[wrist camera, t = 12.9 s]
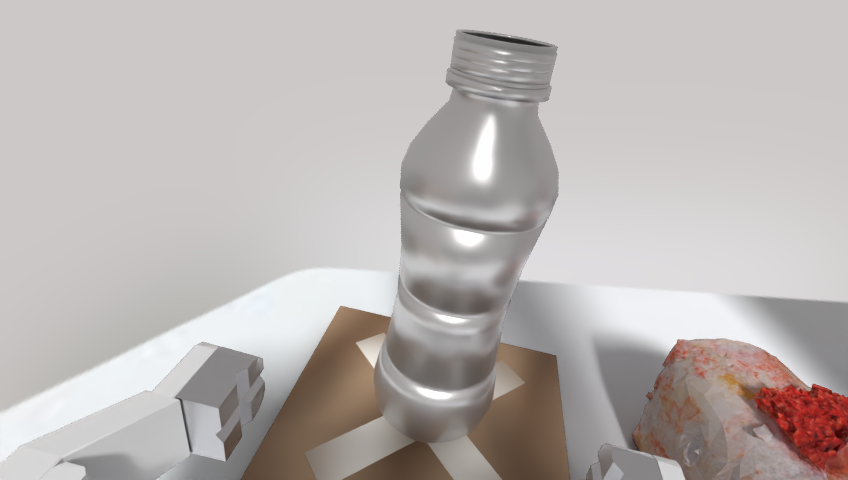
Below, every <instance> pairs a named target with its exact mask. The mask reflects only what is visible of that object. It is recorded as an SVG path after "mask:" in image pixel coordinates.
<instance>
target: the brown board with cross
mask: <svg viewBox="0 0 848 480" xmlns="http://www.w3.org/2000/svg"><path fill="white" fill-rule="evenodd" d="M390 321H391V317H387V316H382V315H378V314H374V313H369V312H365V311H361V310H356V309H352V308H348V307H343V306H340V308H339V309H338V311H337V313H336V315H335V316H334V318H333V320H332V322H331V323H330V325H329V327H328V328H327V330H326V332H325V334H324V335H323V337H322V339H321V341H320V342H319V344H318V346H317V348H316V349H315V351H314V353H313V355H312V356H311V358H310V360H309V362H308V363H307V365H306V367H305V368H304V370H303V372H302V374H301V375H300V377H299V379H298V381H297V382H296V384H295V386H294V388H293V389H292V391H291V393H290V395H289V396H288V398H287V400H286V402H285V403H284V405H283V407H282V408H281V410H280V412H279V414H278V415H277V417H276V419H275V421H274V422H273V424H272V426H271V428H270V429H269V431H268V433H267V435H266V436H265V438H264V440H263V441H262V443H261V445H260V447H259V448H258V450H257V452H256V454H255V455H254V457H253V459H252V461H251V462H250V464H249V466H248V468H247V469H246V471H245V473H244V475H243V476H242V478H241V480H570V476H569V467H568V458H567V449H566V440H565V431H564V422H563V413H562V404H561V396H560V387H559V378H558V369H557V360H556V355H551V354H547V353H543V352H538V351H534V350H530V349H525V348H521V347H517V346H512V345H508V344H504V343H499V348H498V353H497V358H496V381H495V388H494V395H493V400H492V402H491V405H490V407H489V409H488V410H487V412H486V413H485V415H484V417H483V418H482V420H481V421H480V423H479V424H478V425H477V427H476V428H475V429H474V430H473V431H471V432H470V433H469V434H467V435H465V436H463V437H461V438H459V439H456V440H452V441H449V442H444V443H424V442H420V441H416V440H413V439H411V438H409V437H407V436H405V435H403V434H402V433H400V432H399V431H398V430H396V429H395V428H394V427H393V426H392V425H391V424H390V423H389V422H388V421H387V420H386V419H385V418H384V416H383V415H382V413H381V412H380V410H379V408H378V405H377V402H376V396H375V387H374V378H373V375H374V368H375V364H376V361H377V358H378V355H379V351H380V349H381V347H382V344H383V342H384V340H385V338H386V335H387V333H388V329H389V325H390Z"/></svg>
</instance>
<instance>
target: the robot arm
mask: <svg viewBox="0 0 848 480" xmlns="http://www.w3.org/2000/svg"><path fill="white" fill-rule="evenodd" d="M263 369H264V367H263V359H262V358H260V357H257V356H253V355H249V354H246V353H242V352H239V351H235V350H232V349H228V348H225V347H220V346H217V345H213V344H209V343H205V342H201V343H199V344H197V345H196V346H194V347H193V348H192V350H191V351H190V352H189V353H188V354H187V355H186V356H185V357H184V358H183V359H182V360H181V361H180V362H179V363H178V364H177V365H176V367H175V368H174V369H173V370H172V371H171V372H170V373H169V374H168V375H167V376H166V377H165V378H164V379H163V380H162V381H161V382H160V383H159V385H158V386H157V387H156V388H155V389H154V390H153V391H152V392H150V391H143V392H141V393H139V394H137V395H134V396H132V397H130V398H128V399H125V400H123V401H121V402H119V403H116V404H114V405H112V406H109V407H107V408H105V409H103V410H100V411H98V412H96V413H94V414H91V415H89V416H87V417H85V418H82V419H80V420H78V421H76V422H73V423H71V424H69V425H66V426H64V427H62V428H60V429H57V430H55V431H53V432H51V433H48V434H46V435H44V436H42V437H39V438H37V439H35V440H33V441H30V442H28V443H26V444H23V445H21V446H20V447H18V448H17V449H16V450H15V451H14V452H13V453H12V454H11V455H9V456H8V457H7V458H6V459H5V460H4V461H3V462H2V463H0V480H155V479H157V478H158V477H160V476H161V475H163V474H164V473H166V472H167V471H169V470H170V469H171V468H173V467H174V466H176V465H177V464H179V463H180V462H182V461H183V460H185V459H186V458H188V457H189V456H190V455H191V454H190V453H192V454H196V455H200V456H204V457H209V458H213V459H217V460H221V461H225V462H226V461H227V459H228V458H229V456H230V454H231V453H232V451H233V450H234V448H235V447H236V445H237V444H238V442H239V440H240V439H241V437H242V432H241V426H243V425H245V424H247V423H249V422H250V421H252V420H253V418H254V417H255V415H256V413H257V412H258V410H259V407H260V405H261V402H262V400H263V396H264V390H265V383H264V380H263V379H262V378H261V377H260V373H261V372H262V370H263ZM598 457H599V462H598V463H595V464H593V465H591V467H590V469H589V471H588V473H587V476H586V480H685V477H684V475H683V472H682V469H681V466H680V465H679V464H678V462H677V461H675V460H671V459H667V458H663V457H659V456H655V455H650V454H648V453H644V452H640V451H636V450H631V449H627V448H623V447H619V446H615V445H610V444H604V445H603V446H602V447H601V448H600V450H599V452H598Z"/></svg>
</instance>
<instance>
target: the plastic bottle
mask: <svg viewBox="0 0 848 480" xmlns="http://www.w3.org/2000/svg"><path fill="white" fill-rule="evenodd" d="M557 48H558V47H557V46H555V45H552V44H549V43H545V42H541V41H536V40H531V39H527V38H522V37H516V36H510V35H504V34H497V33H491V32H483V31H475V30H457V31H456V36H455V37H454V44H453V52H452V59H451V66H450V68H448V69H447V75H446V83H447V84H448V85H450V86H452V87H453V90H452V93H451V97H450V99H449V101H448V102H447V103H446V104H445V105H444V106H443V107H442V108H441V109H440V110H439V111H438V112H437V113H436V114H435V115H434V116H433V117H432V118H431V119H430V120H429V121H428V122H427V124H426V125H425V126H424V127H423V128H422V130H421V131H420V132H419V134H418V135H417V136H416V137H415V139H414V140H413V141H412V142H411V144H410V146H409V148H408V150H407V153H406V155H405V157H404V159H403V162H402V166H401V181H400V188H401V194H400V196H401V197H400V199H401V239H402V240H401V241H402V247H401V258H400V270H399V273H400V275H399V282H398V293H397V297H396V301H395V305H394V309H393V313H392V317H391V321H390V325H389V329H388V333H387V335H386V338H385V340H384V342H383V344H382V347H381V349H380V351H379V355H378V358H377V361H376V364H375V368H374V375H373V378H374V387H375V396H376V402H377V405H378V408H379V410H380V412H381V413H382V415H383V416H384V418H385V419H386V420H387V421H388V422H389V423H390V424H391V425H392V426H393V427H394V428H395V429H396V430H398V431H399V432H400V433H402V434H403V435H405V436H407V437H409V438H411V439H413V440H416V441H420V442H424V443H444V442H449V441H452V440H456V439H459V438H461V437H463V436H465V435H467V434H469V433H470V432H471V431H473V430H474V429H475V428H476V427H477V425H478V424H479V423H480V421H481V420H482V418H483V417H484V415H485V413H486V412H487V410H488V409H489V407H490V405H491V402H492V400H493V395H494V388H495V381H496V358H497V353H498V348H499V343H500V338H501V333H502V328H503V323H504V318H505V314H506V312H507V309H508V307H509V304H510V301H511V298H512V295H513V293H514V291H515V288H516V285H517V283H518V280H519V277H520V275H521V272H522V269H523V267H524V265H525V263H526V261H527V259H528V257H529V255H530V253H531V251H532V249H533V247H534V245H535V243H536V241H537V239H538V237H539V236H540V233H541V231H542V229H543V228H544V226H545V223H546V221H547V219H548V218H549V216H550V214H551V211H552V209H553V206H554V204H555V201H556V199H557V197H558V168H557V164H556V161H555V158H554V155H553V152H552V149H551V145H550V143H549V140H548V138H547V136H546V133H545V131H544V129H543V127H542V124H541V122H540V120H539V117H538V105H539V102H545V101H547V100H549V96H550V92H551V86H550V85H549V84H550V80H551V76H552V72H553V68H554V65H555V60H556V56H557V53H556V51H557Z"/></svg>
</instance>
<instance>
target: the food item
mask: <svg viewBox="0 0 848 480" xmlns="http://www.w3.org/2000/svg"><path fill="white" fill-rule="evenodd" d="M663 366H664V367H665V368H664V369H663V371H662V372H661V373H660V374H659V376H658V378H657V380H656V382H655V384H654V388H655V389H654V390H653V392H652V393H648V394H647V395H646V396H647V397H648V399H649V401H648V403H647V405H646V406H645V409H644V414H643V415H642V417H641V420H640V422H639V424H638V426H637V428H636V429H635V431H634V432H633V434H632V437H633V440H634V442H635V444H636V446H637V447H638V449H639V450H640V452H644V453H648V454H650V455H655V456H659V457H663V458H667V459H671V460H675V461H677V462H678V464H679V465H680V466H681V469H682V472H683V475H684V477H685V480H848V397H847V398H846V397H845V396H844V395H842V396H840V395H839V394H837V393H832V391H831V390H830V389H827V388H824V387H821V386H819V385H816V384H813V385H812V388H810V387H808V386H807V385H805V384H804V383H803V382H802V381H801V380H800V379H799V378H798V377H797V376H796V375H795V374H793V373H792V372H791V371H790V370H789V369H788V368H787V367H786V366H785V365H784V364H783V363H781V362H780V361H779V360H778V358H777V357H775V356H773V355H771V354H769V353H768V352H766V351H765V350H763V349H761V348H759V347H756V346H754V345H751V344H748V343H744V342H740V341H732V340H728V339H695V340H679V339H678V340H677V344H676V345H675V346H674V347H673V348H672V350H671V351H670V353H669V355H668V356H667V358H666V360H665V362H664V363H663Z"/></svg>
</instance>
